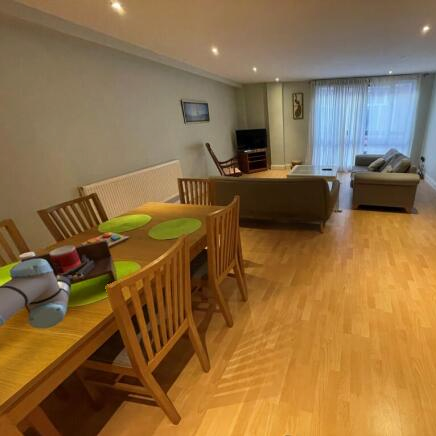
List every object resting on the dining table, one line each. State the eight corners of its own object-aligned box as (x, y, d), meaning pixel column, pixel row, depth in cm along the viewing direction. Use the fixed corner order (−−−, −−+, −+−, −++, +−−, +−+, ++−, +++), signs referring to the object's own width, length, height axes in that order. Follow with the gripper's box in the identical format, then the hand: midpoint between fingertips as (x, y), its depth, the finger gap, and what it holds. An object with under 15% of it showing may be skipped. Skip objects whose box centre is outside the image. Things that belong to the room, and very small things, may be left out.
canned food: (87, 266, 106) (78, 244, 102) (75, 277, 99) (65, 253, 95) (67, 268, 105) (58, 246, 101) (54, 279, 98) (43, 255, 93)
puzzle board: (102, 251, 136) (100, 246, 135) (80, 246, 142) (78, 241, 141) (130, 238, 152) (129, 233, 150) (109, 234, 157) (107, 229, 156)
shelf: (29, 314, 92) (9, 277, 85) (38, 292, 104) (21, 258, 97) (117, 286, 107) (106, 253, 100) (116, 270, 119) (106, 239, 112)
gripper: (5, 316, 74) (22, 282, 90) (104, 285, 87) (104, 260, 103) (-7, 297, 71) (13, 265, 87) (98, 268, 85) (98, 245, 100)
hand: (62, 262), depth 95 cm, fingers open, 13 cm apart
